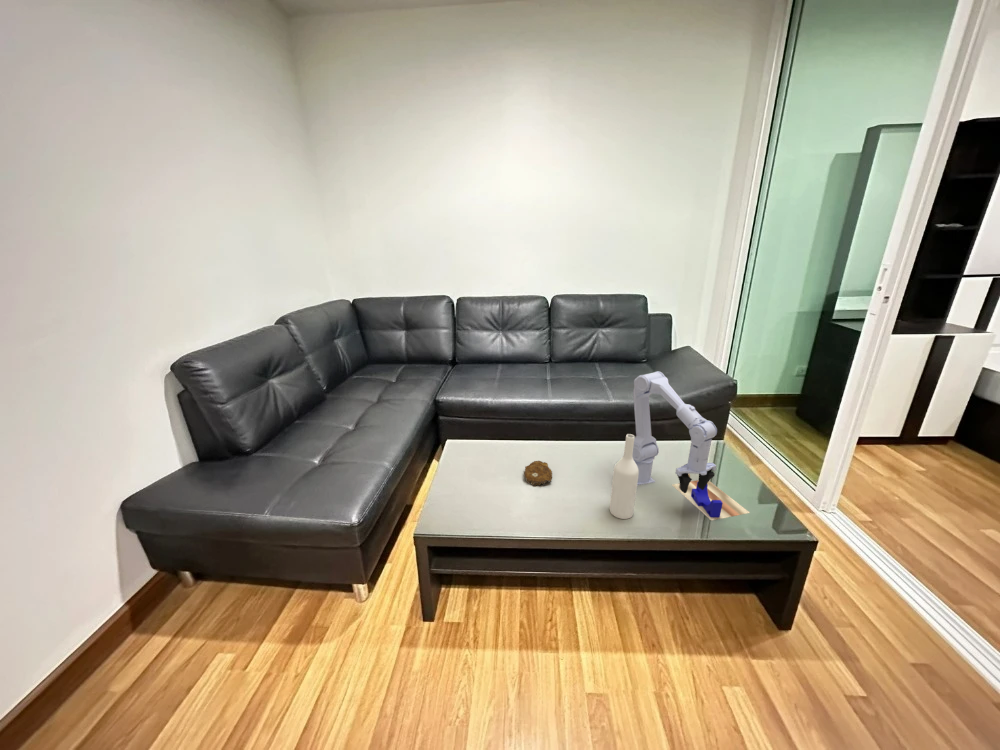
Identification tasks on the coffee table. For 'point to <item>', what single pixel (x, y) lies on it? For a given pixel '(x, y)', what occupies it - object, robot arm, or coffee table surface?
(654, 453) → the robot arm
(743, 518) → the coffee table surface
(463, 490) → the coffee table surface
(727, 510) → the plywood sheet
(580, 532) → the coffee table surface
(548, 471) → the decorative rock
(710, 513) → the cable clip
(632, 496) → the bottle
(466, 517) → the coffee table surface
